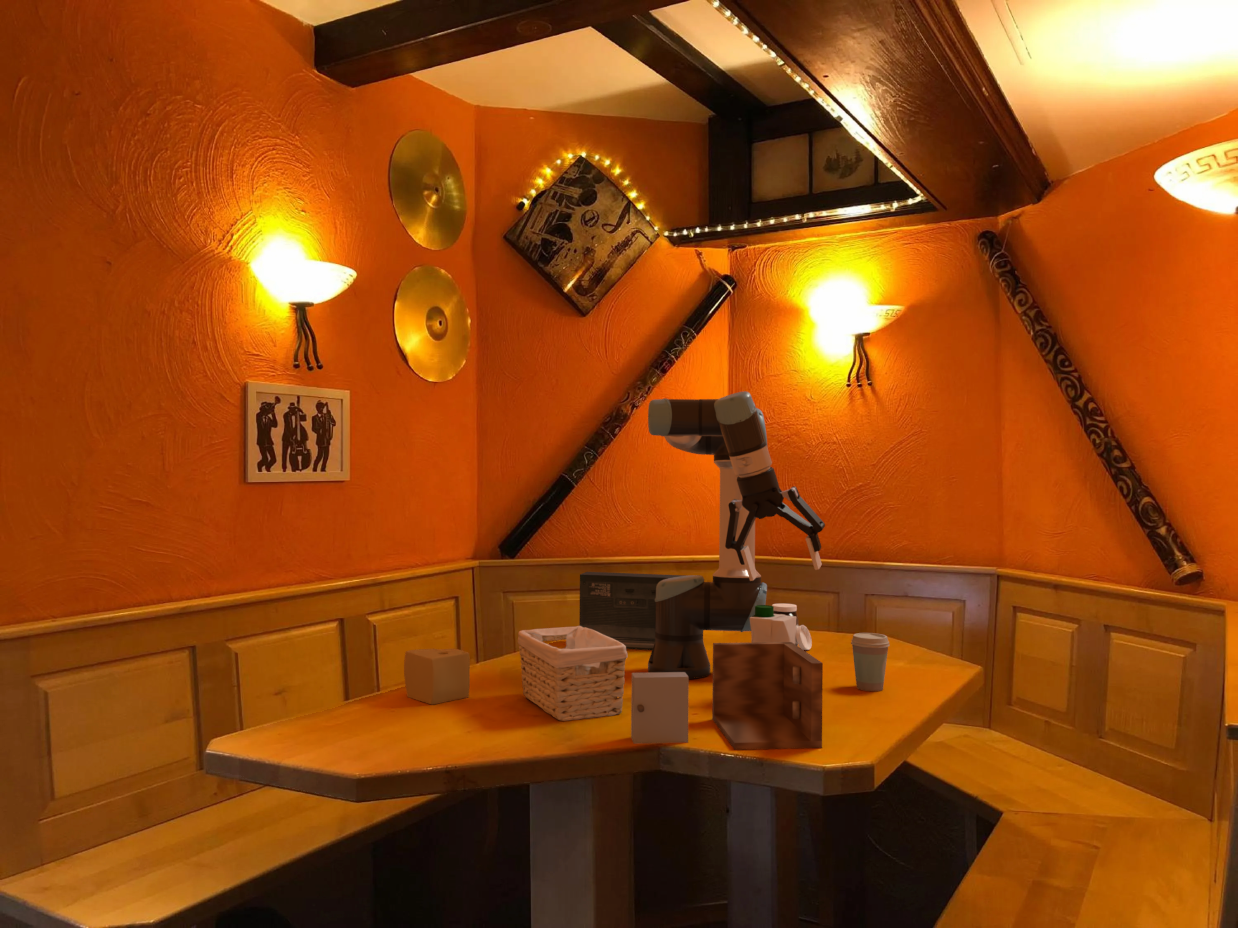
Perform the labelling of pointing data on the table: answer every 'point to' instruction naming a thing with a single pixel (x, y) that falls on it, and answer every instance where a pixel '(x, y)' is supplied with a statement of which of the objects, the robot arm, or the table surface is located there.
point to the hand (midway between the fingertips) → (785, 573)
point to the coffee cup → (870, 660)
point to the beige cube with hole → (437, 675)
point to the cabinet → (767, 695)
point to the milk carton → (772, 626)
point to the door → (659, 707)
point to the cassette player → (621, 606)
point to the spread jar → (801, 631)
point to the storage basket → (573, 672)
